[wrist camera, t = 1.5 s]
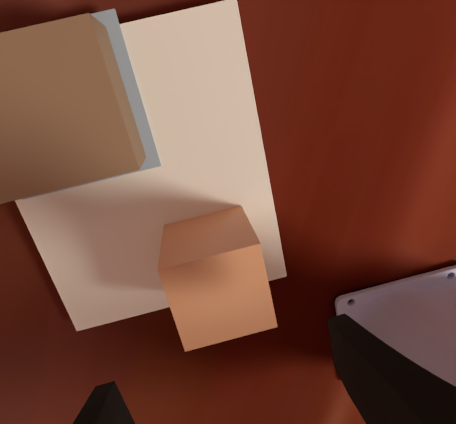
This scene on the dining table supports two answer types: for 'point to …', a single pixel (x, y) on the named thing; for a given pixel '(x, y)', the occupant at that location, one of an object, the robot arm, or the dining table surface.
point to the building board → (183, 189)
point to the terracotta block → (215, 278)
